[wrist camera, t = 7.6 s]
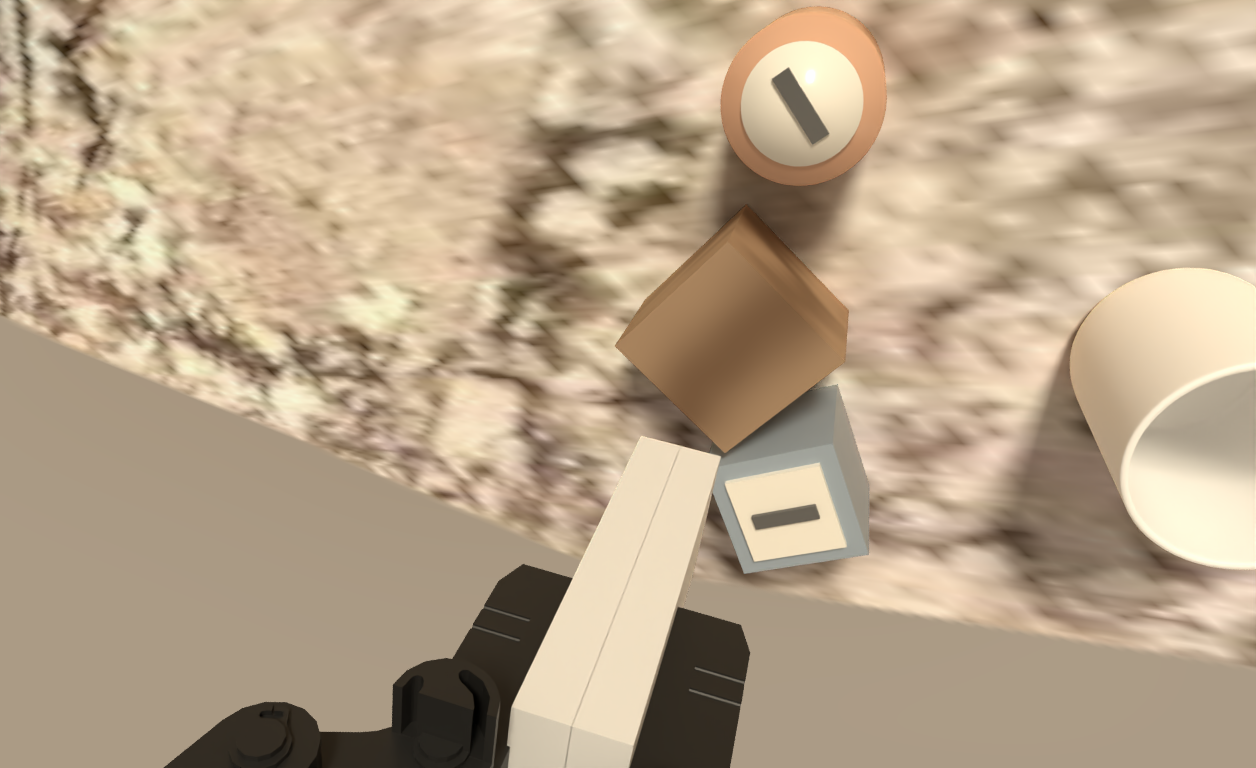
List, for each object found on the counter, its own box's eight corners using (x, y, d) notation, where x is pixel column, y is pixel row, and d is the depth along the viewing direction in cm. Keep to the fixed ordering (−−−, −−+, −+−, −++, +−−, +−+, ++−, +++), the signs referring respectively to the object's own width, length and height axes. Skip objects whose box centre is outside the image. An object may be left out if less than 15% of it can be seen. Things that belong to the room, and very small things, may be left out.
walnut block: (645, 298, 44) (614, 346, 38) (746, 203, 40) (727, 241, 35) (742, 394, 45) (724, 453, 39) (848, 309, 41) (845, 361, 36)
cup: (1128, 234, 37) (1208, 325, 28) (1415, 333, 36) (1592, 460, 27) (1031, 396, 41) (1074, 519, 32) (1286, 489, 40) (1403, 642, 31)
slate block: (723, 409, 45) (702, 475, 40) (837, 383, 43) (832, 449, 37) (758, 504, 47) (742, 580, 42) (869, 484, 45) (868, 561, 39)
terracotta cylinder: (715, 64, 38) (687, 84, 32) (837, -26, 35) (830, -21, 30) (788, 179, 39) (774, 218, 34) (911, 101, 37) (918, 129, 31)
